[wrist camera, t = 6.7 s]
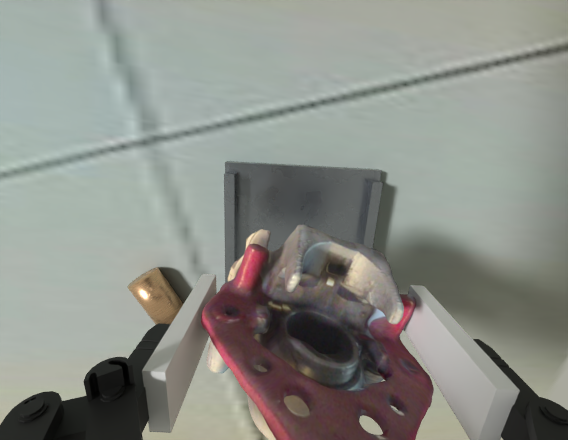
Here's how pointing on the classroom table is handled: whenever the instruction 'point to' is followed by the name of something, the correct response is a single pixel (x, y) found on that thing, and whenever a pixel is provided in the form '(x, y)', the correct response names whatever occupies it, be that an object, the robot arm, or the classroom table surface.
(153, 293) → the golden brown rounded block
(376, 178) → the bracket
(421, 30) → the classroom table surface
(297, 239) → the brake caliper
